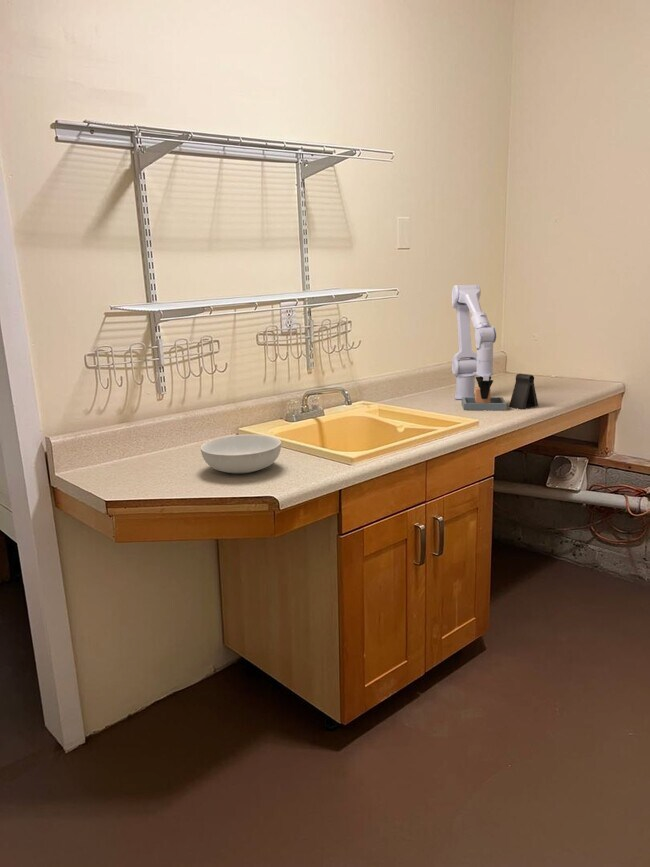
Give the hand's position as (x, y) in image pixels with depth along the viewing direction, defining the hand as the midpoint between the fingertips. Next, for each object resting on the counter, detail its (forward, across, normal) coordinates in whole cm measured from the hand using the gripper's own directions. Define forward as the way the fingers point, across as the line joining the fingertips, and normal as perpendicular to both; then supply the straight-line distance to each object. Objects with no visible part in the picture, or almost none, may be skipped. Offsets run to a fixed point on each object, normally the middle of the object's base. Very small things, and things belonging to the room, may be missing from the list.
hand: (483, 397), depth 242 cm
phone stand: (+4, 0, +14) cm, 15 cm away
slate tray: (+4, 0, 0) cm, 4 cm away
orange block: (+2, 0, 0) cm, 2 cm away
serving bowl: (+4, +84, -70) cm, 109 cm away
